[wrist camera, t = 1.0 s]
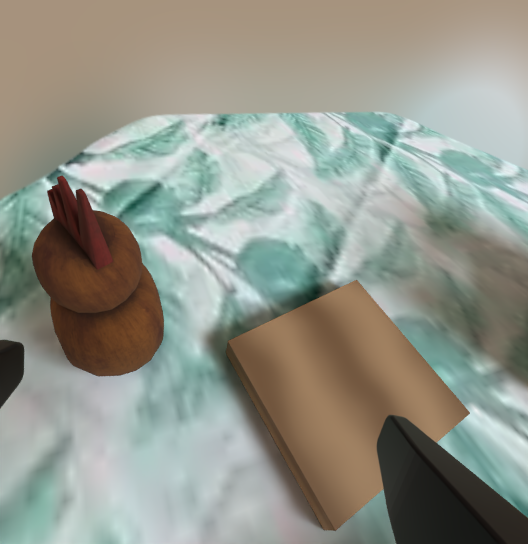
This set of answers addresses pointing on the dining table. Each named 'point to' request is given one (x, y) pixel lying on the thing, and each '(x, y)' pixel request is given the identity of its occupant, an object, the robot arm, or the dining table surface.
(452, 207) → the dining table surface
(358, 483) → the light brown wooden stand
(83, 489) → the dining table surface
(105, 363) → the wooden figurine
